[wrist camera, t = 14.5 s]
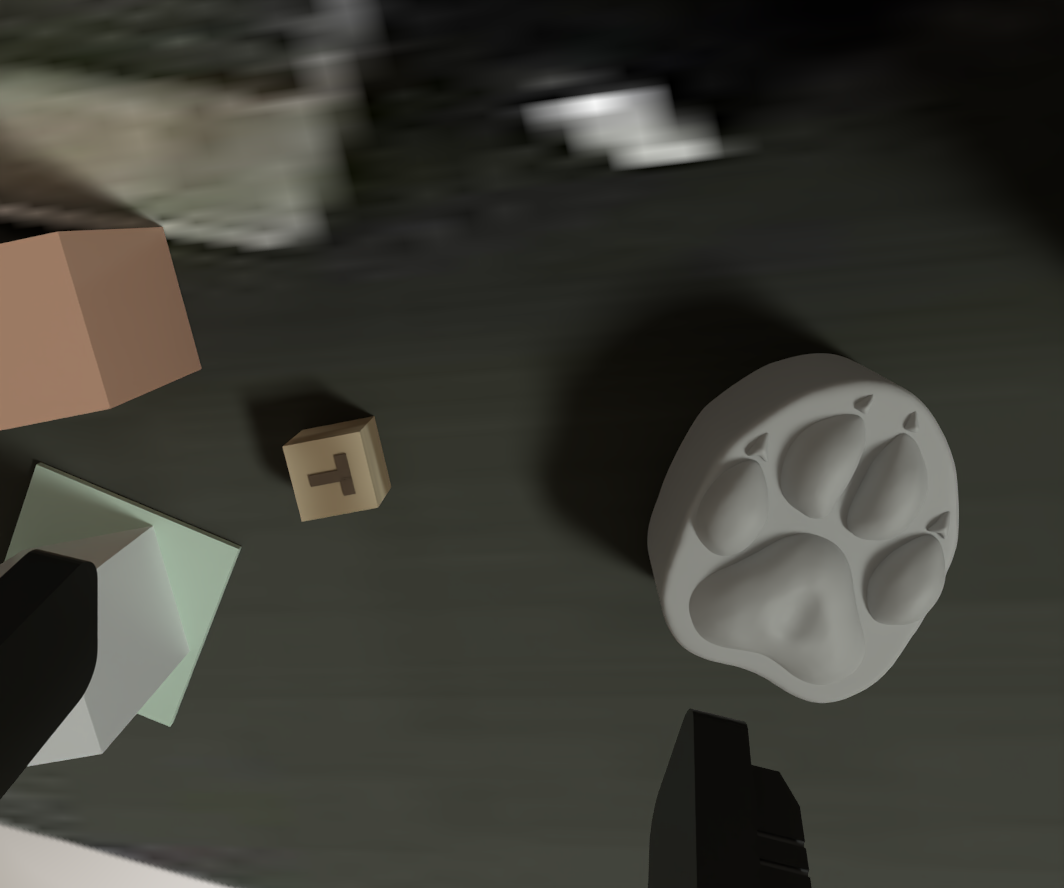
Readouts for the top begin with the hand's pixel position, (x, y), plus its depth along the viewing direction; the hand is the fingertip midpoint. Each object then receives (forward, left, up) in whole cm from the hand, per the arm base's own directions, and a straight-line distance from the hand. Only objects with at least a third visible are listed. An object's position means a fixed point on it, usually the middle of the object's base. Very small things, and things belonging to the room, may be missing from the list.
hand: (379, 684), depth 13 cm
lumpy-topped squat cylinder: (-14, +1, -33) cm, 36 cm away
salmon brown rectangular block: (+17, +6, -33) cm, 37 cm away
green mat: (+13, +19, -33) cm, 40 cm away
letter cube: (+5, +8, -33) cm, 34 cm away
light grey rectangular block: (+13, +19, -32) cm, 39 cm away
